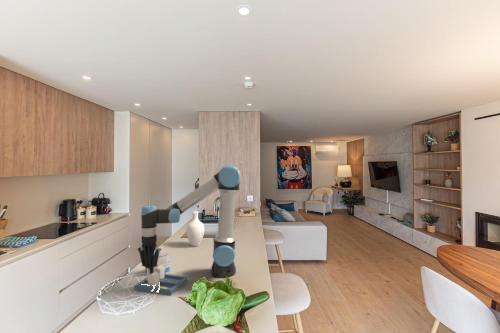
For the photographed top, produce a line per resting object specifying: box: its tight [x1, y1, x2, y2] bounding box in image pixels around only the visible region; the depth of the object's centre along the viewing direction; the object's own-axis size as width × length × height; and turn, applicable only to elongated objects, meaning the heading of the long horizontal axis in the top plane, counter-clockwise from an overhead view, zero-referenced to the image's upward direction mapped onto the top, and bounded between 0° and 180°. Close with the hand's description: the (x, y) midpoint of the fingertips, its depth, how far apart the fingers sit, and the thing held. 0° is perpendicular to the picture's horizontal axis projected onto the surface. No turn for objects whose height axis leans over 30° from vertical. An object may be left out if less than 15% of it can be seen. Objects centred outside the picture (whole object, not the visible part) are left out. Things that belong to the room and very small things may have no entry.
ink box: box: [153, 250, 171, 274], centre depth 150 cm, size 9×5×12 cm, turn 141°
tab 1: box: [148, 271, 159, 286], centre depth 130 cm, size 4×4×7 cm
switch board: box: [133, 272, 189, 296], centre depth 133 cm, size 22×16×3 cm
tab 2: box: [154, 265, 164, 279], centre depth 138 cm, size 4×4×7 cm
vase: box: [185, 210, 205, 247], centre depth 202 cm, size 14×14×28 cm
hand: (149, 279), depth 130 cm, fingers closed
